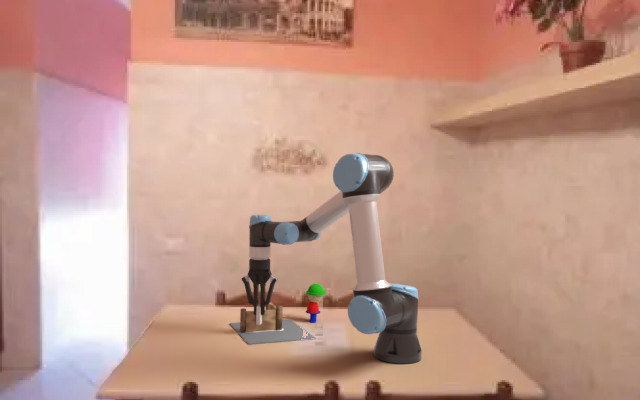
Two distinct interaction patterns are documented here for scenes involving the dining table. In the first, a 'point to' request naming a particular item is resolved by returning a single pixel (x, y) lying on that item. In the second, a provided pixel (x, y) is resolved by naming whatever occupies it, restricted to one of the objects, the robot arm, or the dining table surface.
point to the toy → (314, 300)
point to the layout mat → (273, 333)
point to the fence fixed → (278, 314)
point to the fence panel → (250, 320)
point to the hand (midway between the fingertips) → (259, 323)
